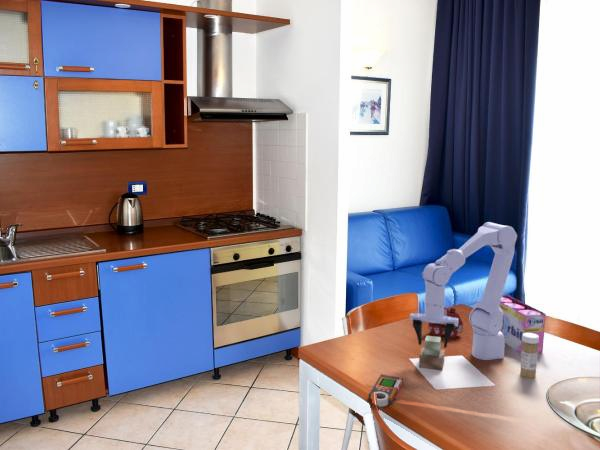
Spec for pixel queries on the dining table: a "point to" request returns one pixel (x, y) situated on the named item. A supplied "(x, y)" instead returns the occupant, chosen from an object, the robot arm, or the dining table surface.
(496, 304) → the robot arm
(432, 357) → the walnut plinth
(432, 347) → the sage cube
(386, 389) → the electronic device
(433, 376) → the build board
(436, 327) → the toy fire truck
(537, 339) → the sprinkles bottle
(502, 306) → the gum box
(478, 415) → the dining table surface
